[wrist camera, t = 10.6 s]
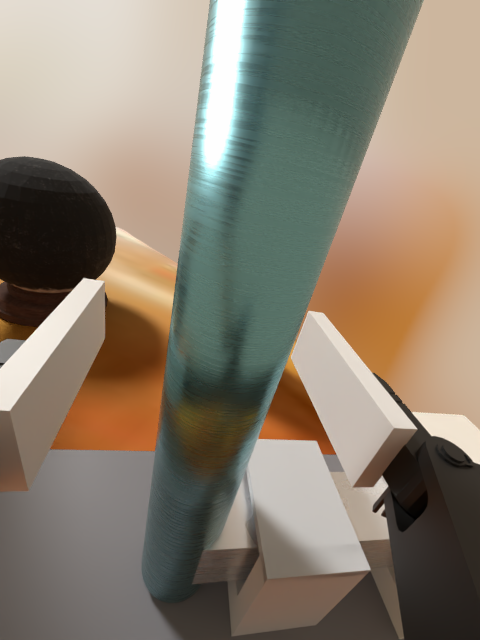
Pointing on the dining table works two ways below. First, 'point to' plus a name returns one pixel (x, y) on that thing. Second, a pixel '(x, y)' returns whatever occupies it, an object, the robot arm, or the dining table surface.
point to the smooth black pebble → (48, 237)
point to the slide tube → (259, 262)
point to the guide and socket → (211, 598)
